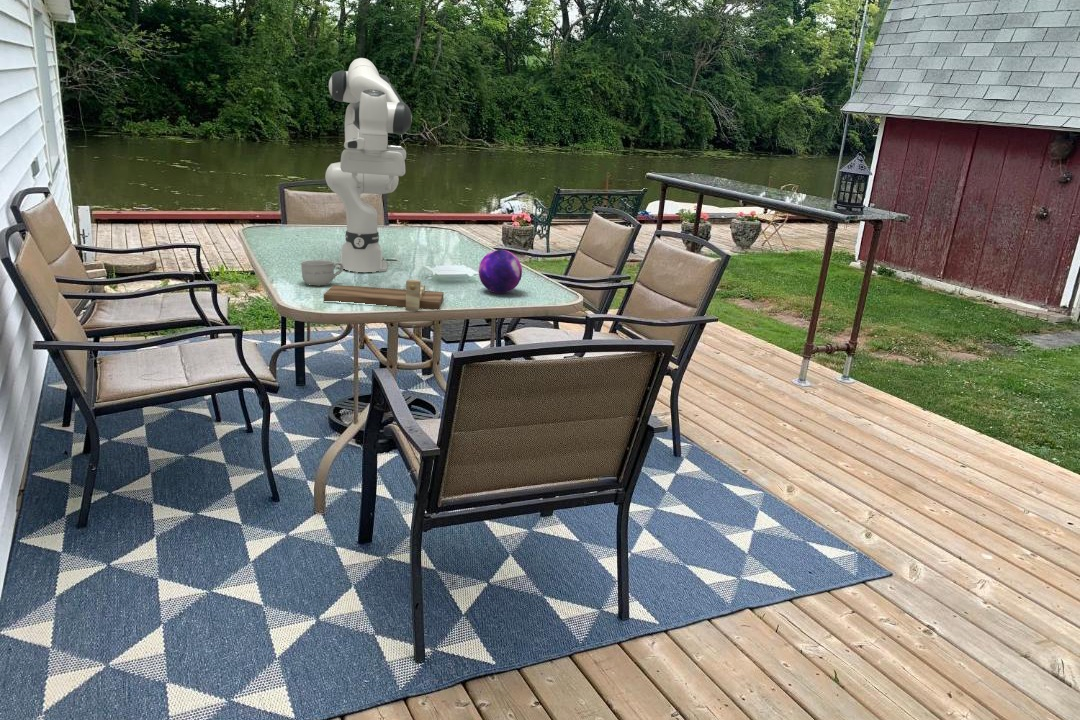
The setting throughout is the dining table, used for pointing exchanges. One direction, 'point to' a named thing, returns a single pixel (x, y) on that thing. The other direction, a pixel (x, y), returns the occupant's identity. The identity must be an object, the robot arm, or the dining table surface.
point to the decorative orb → (500, 271)
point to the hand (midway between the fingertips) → (373, 188)
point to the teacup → (319, 271)
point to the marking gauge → (414, 294)
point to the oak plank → (381, 296)
